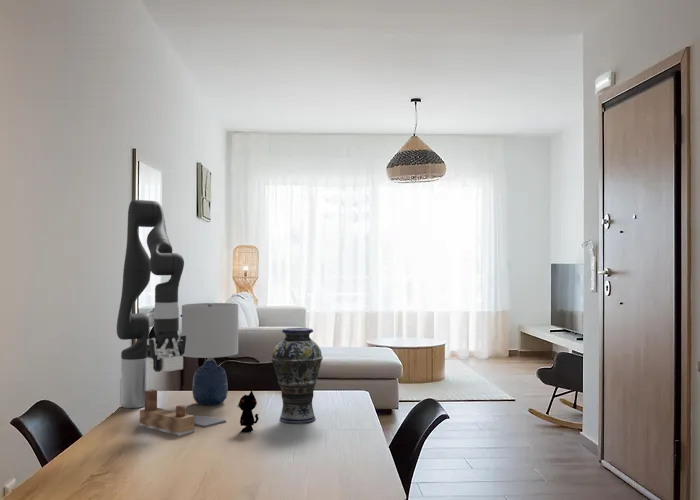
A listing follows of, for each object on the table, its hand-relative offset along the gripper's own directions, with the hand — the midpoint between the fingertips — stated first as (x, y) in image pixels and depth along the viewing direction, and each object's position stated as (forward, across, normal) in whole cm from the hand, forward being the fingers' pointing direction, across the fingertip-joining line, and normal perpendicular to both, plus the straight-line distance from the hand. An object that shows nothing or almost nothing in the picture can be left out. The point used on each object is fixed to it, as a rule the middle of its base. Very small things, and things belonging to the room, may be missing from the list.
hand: (166, 369), depth 219 cm
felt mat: (+18, -13, +3) cm, 22 cm away
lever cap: (0, 0, 0) cm, 0 cm away
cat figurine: (+18, -14, +23) cm, 32 cm away
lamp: (+19, -33, -17) cm, 41 cm away
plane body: (+18, 0, +1) cm, 18 cm away
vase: (+18, -34, +25) cm, 46 cm away
